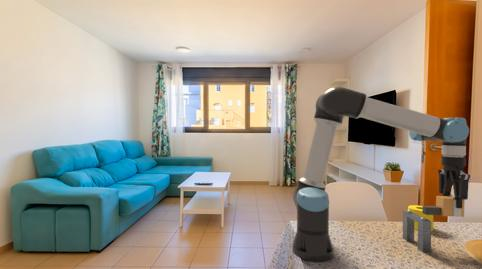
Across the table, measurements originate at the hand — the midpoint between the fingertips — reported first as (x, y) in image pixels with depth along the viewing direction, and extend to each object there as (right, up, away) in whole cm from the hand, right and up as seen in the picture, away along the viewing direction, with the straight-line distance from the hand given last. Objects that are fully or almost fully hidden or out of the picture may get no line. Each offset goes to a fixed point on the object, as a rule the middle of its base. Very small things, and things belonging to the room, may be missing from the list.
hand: (452, 213), depth 102 cm
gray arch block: (-14, -13, +1) cm, 19 cm away
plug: (-4, 0, 0) cm, 4 cm away
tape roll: (+1, -13, +20) cm, 24 cm away
